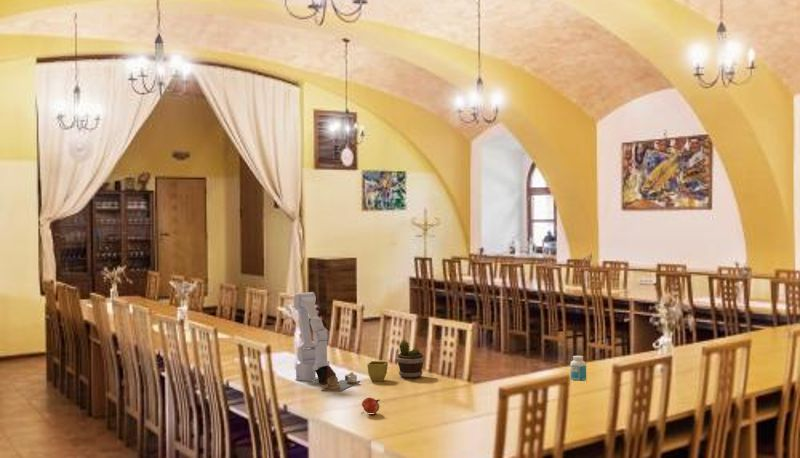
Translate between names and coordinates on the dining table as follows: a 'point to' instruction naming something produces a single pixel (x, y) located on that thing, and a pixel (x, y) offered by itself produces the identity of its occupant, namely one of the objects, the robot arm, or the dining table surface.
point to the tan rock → (332, 383)
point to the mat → (341, 386)
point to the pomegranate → (370, 405)
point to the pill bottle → (578, 369)
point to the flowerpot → (409, 361)
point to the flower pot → (377, 370)
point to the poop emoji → (328, 375)
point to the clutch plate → (350, 377)
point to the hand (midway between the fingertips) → (321, 382)
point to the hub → (351, 381)
